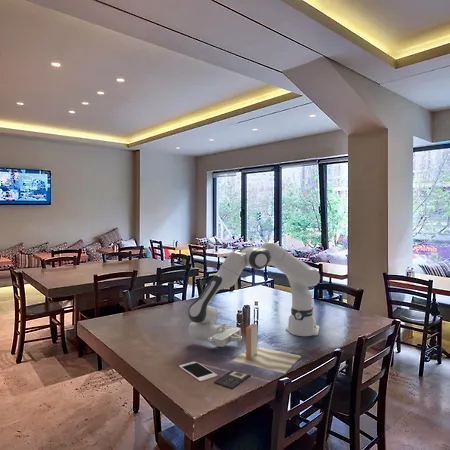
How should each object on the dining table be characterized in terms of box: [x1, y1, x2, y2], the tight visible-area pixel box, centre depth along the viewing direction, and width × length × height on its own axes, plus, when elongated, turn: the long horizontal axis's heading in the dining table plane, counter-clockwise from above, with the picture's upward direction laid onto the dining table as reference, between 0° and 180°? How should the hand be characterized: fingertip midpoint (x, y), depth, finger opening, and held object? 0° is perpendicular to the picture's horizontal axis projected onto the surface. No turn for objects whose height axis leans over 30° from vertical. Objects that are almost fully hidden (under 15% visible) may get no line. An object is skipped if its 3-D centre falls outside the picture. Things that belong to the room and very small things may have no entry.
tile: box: [245, 323, 259, 358], centre depth 175 cm, size 7×3×14 cm, turn 150°
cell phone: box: [178, 360, 218, 383], centre depth 158 cm, size 9×18×1 cm, turn 36°
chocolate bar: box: [213, 370, 252, 390], centre depth 152 cm, size 9×1×18 cm
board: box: [231, 346, 302, 376], centre depth 171 cm, size 22×26×1 cm
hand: (240, 339), depth 178 cm, fingers closed
